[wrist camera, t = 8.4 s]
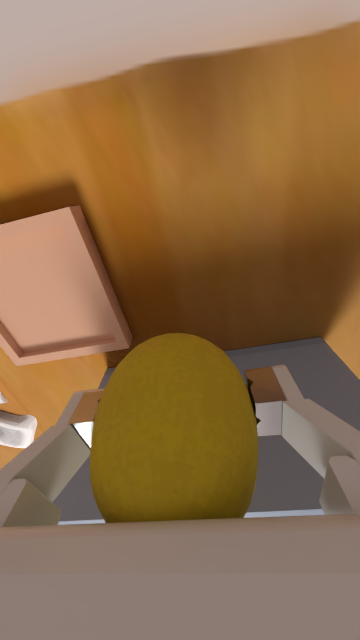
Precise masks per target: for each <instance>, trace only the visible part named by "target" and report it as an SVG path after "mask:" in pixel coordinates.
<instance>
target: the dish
mask: <svg viewBox="0 0 360 640" xmlns="http://www.w3.org/2000/svg"><path fill="white" fill-rule="evenodd" d="M132 339H133V337H132V334H131V332H130V329H129V327H128V324H127V322H126V319H125V317H124V314H123V312H122V309H121V307H120V304H119V302H118V299H117V297H116V294H115V292H114V289H113V287H112V284H111V282H110V279H109V277H108V274H107V272H106V269H105V267H104V264H103V262H102V259H101V257H100V254H99V252H98V249H97V247H96V244H95V242H94V239H93V237H92V234H91V232H90V229H89V227H88V224H87V222H86V220H85V217H84V215H83V212H82V210H81V207H80V205H77V206H71V207H66V208H62V209H59V210H55V211H51V212H47V213H43V214H39V215H36V216H32V217H28V218H24V219H20V220H16V221H13V222H9V223H5V224H1V225H0V346H1V348H2V349H3V350H4V351H5V352H6V354H7V355H8V356H9V357H10V359H11V360H12V361H13V362H14V364H15V365H16V366H20V365H27V364H33V363H39V362H46V361H52V360H58V359H65V358H71V357H77V356H84V355H90V354H96V353H103V352H109V351H115V350H122V349H128V348H129V347H130V345H131V342H132Z"/></svg>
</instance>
